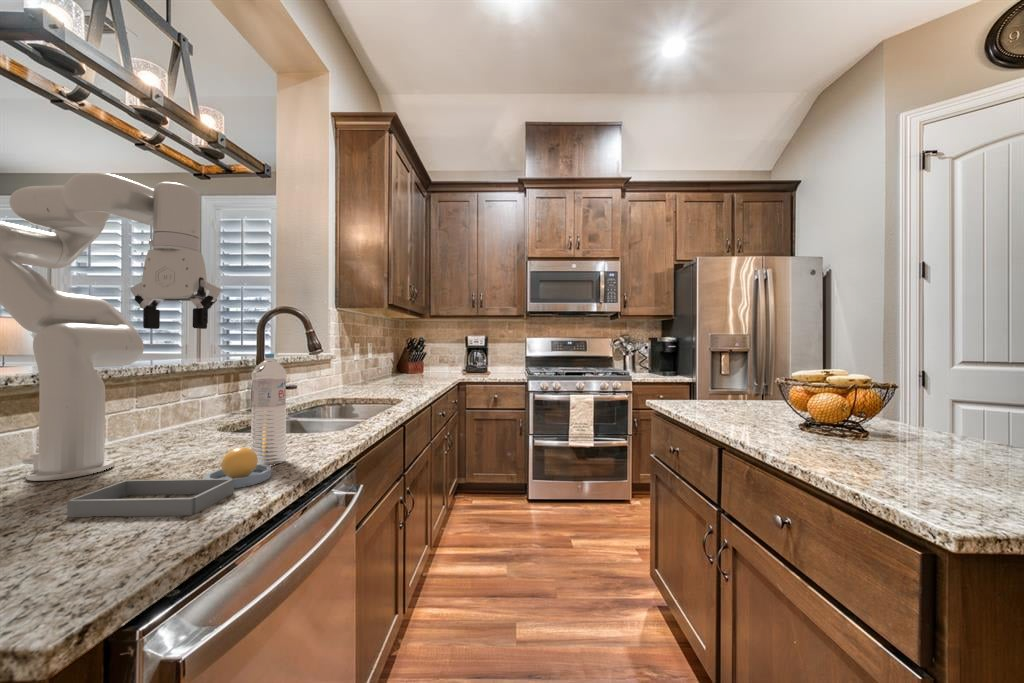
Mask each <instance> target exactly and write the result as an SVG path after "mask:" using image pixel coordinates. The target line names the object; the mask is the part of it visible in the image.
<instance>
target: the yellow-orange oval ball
mask: <svg viewBox="0 0 1024 683" xmlns="http://www.w3.org/2000/svg"><path fill="white" fill-rule="evenodd" d="M257 463H258V458H257V455H256V453H255V452H254V451H253V450H252V449H251V447H250V448H249V447H246V446H239V447H236V448H233V449H231V450H229V451H228V452H227V453H226V454H225V455H224V456H223V458H222V460H221V464H220V465H221V467H220V469H222V471H223V473H224V474H225V475H226V476H228V477H230V478H234V479H235V478H242V477H246V476H248V475H250V474H251V473H252V472H253V471H254V470H255V468H256V466H257Z"/></svg>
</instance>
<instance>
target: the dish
mask: <svg viewBox="0 0 1024 683" xmlns="http://www.w3.org/2000/svg"><path fill="white" fill-rule="evenodd" d="M271 467H272V466H269V465H264V464H257V466H256V468H255V470H254V471H253V472H252V473H251V474H250V475H248V476H246V477H242V478H235V479H234V478H230V477H228V476H226V475H225V474H224V473H223V471H222V468H219V469H216V470H214V471H211V472H208V473H206V475H205V477H204V479H234V488H233V490H235V489H236V488H237V489H242V488H241V487H243V488H247V487H246V486H248V487H251V486H250V485H252V486H255V485H254V484H256V485H258V484H257V483H259V484H261V482H262V483H264V482H266V481H268V480H270V478H271V477H272V469H271ZM270 476H271V477H270ZM267 479H268V480H267ZM265 480H266V481H265ZM263 481H264V482H263Z"/></svg>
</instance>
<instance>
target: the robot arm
mask: <svg viewBox="0 0 1024 683" xmlns="http://www.w3.org/2000/svg"><path fill="white" fill-rule="evenodd" d="M201 199H202V198H201V195H200V193H199V192H198V191H197V190H196V189H194V188H193V187H191V186H190V185H189V186H188V185H186V184H183V183H178V182H171V181H162V182H159V183H156V185H154V187H153V188H151V187H149V186H146V185H144V184H142V183H139V182H137V181H133V180H131V179H128V178H125V177H123V176H119V175H116V174H111V173H107V172H106V173H104V172H97V173H96V172H94V173H93V172H92V173H91V172H90V173H88V172H87V173H78V174H74V175H73V176H72V177H70V178H69V179H68V180H67V181H66V182H65V184H64V185H33V186H31V185H30V186H26V187H21V188H19V189H15V191H13V192H12V193H11V195H10V196H9V207H10V209H11V210H12V212H14V214H15V215H16V216H17V217H19V218H20V219H21V220H23V221H26V222H28V223H29V224H32V225H34V226H38V227H43V228H45V229H50V230H54V231H52V232H50V231H45V230H42V229H36V228H33V227H32V228H31V227H29V226H24V225H21V224H20V225H19V224H16V223H10V222H6V221H2V220H0V306H2V307H3V308H4V309H5V310H6V312H8V314H9V315H10V316H11V317H12V318H13V320H14V321H16V322H17V323H18V325H20V326H21V328H23V329H25V330H26V331H28V332H31V333H34V334H35V335H34V338H33V340H32V351H33V354H34V358H35V362H36V366H37V372H38V381H39V382H38V383H39V397H38V398H39V399H38V400H39V406H38V407H39V411H38V412H39V413H38V416H39V417H38V418H39V419H38V450H37V452H34V453H32V454H31V453H30V455H29V457H28V456H27V457H24V458H23V459H22V464H23V465H33V467H32V468H33V469H32V470H29V471H28V472H27V473H25V479H26V480H27V481H33V482H37V481H38V482H43V481H44V482H45V481H46V482H49V481H56V480H57V481H58V480H66V479H72V478H78V477H83V476H87V475H88V476H89V475H93V473H94V474H96V473H97V472H98V473H101V472H104V470H105V471H107V470H109V468H110V469H111V467H112V468H113V467H114V466H115V460H113V459H110V458H105V439H106V438H105V437H106V435H105V434H106V431H105V430H106V385H105V383H104V380H103V379H102V377H101V376H100V375H99V373H98V372H97V370H95V368H100V367H101V368H104V367H105V368H108V367H109V368H111V367H122V366H128V365H131V364H134V363H135V362H137V361H138V360H139V359H140V358H141V357H142V356H143V354H144V341H143V338H142V336H141V335H140V332H138V331H137V329H135V327H134V326H133V325H132V324H131V323H130V322H129V321H128V320H127V319H126V318H125V317H124V316H123V315H122V313H120V312H119V310H117V308H115V307H114V306H113V305H112V304H111V303H110V302H108V301H107V300H104V299H102V298H100V297H96V296H92V295H86V294H78V293H70V292H65V291H61V290H58V289H56V288H55V287H54V286H53V285H52V284H50V283H49V281H48V280H47V279H46V278H45V277H44V276H42V275H41V274H40V273H38V272H37V271H36V270H34V269H32V268H30V267H28V266H33V267H40V268H45V269H46V268H47V269H53V270H54V269H56V270H57V269H62V268H66V267H67V266H69V265H71V264H72V263H73V262H74V261H75V260H77V258H79V256H81V254H82V253H83V252H84V251H85V250H86V249H87V248H88V247H89V246H90V245H91V244H92V243H93V242H94V241H96V239H97V238H98V237H99V236H100V235H101V233H103V232H102V231H103V230H104V229H105V225H106V222H107V221H108V220H109V218H110V215H114V216H117V217H122V218H124V219H128V220H132V221H134V222H136V223H137V222H138V223H141V224H145V225H147V226H148V225H149V226H150V227H152V239H149V240H148V244H149V245H148V246H150V247H152V249H148V251H147V253H146V256H145V260H144V264H143V270H142V276H141V277H142V278H141V282H139V283H137V284H135V285H133V286H131V287H130V292H131V293H132V296H133V297H134V301H135V302H136V303H137V304H138V306H139V308H140V309H143V311H142V314H143V316H142V320H143V323H142V324H143V325H142V326H143V329H149V330H158V329H160V323H161V319H160V318H161V311H160V309H157V308H159V306H160V305H161V304H162V303H163V302H164V301H165V302H166V301H167V302H170V301H171V302H185V301H186V302H191V303H192V304H193V305H194V306H195V308H192V328H194V329H202V330H205V329H206V330H207V328H208V323H209V322H208V321H209V310H211V309H212V307H213V305H214V304H215V303H216V302H217V300H218V298H219V296H220V294H221V292H222V289H221V288H220V287H218V286H217V285H215V284H212V283H211V282H208V281H207V270H206V264H205V259H204V255H203V254H202V253H201V201H202V200H201ZM26 265H28V266H26ZM207 292H208V295H207ZM106 469H107V470H106Z"/></svg>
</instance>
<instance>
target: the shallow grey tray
mask: <svg viewBox="0 0 1024 683" xmlns="http://www.w3.org/2000/svg"><path fill="white" fill-rule="evenodd" d="M233 488H234V479H205V478H183V479H180V478H179V479H177V478H176V479H175V478H173V479H172V478H171V479H127V480H123V481H120V482H119V481H118V482H115V483H114V484H110V485H108V486H105V487H102V488H100V489H96V490H93V491H90V492H87V493H85V494H82V495H79V496H76V497H73V498H70V499H69V500H67V501H66V504H67V506H66V518H92V517H91V516H123V517H166V516H167V517H168V516H169V517H171V516H172V517H173V516H179V517H181V516H182V517H183V516H192V515H196V514H197V513H200V512H201V511H204V510H205V509H207V508H209V507H211V506H212V505H215V504H216V503H219V502H220V501H222V500H224V499H225V498H227V497H230V496H231V495H233V494H234V489H233ZM152 495H153V496H155V495H156V496H161V495H163V496H164V495H171V496H172V495H195V496H193V497H162V498H161V497H159V498H158V497H157V498H156V497H155V498H122V497H125V496H152Z"/></svg>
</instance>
